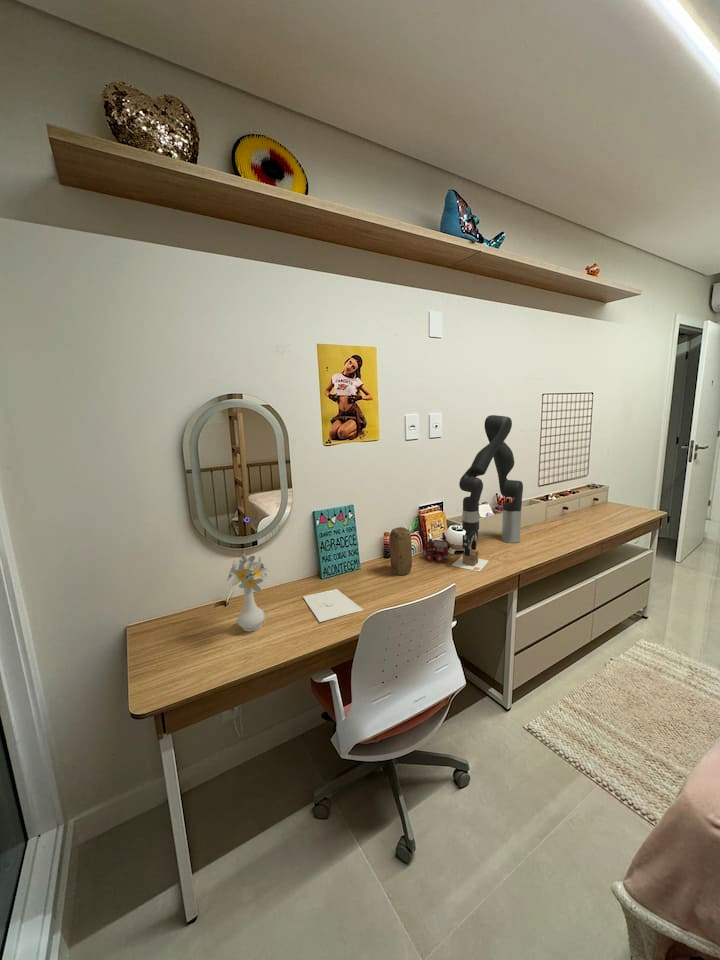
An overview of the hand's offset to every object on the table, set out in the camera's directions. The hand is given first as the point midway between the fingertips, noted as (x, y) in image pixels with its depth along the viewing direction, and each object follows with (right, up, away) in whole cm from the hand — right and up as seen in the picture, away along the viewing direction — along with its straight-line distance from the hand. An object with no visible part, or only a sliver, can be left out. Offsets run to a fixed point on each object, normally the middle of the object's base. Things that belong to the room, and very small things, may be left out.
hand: (470, 552), depth 174 cm
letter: (0, -5, +1) cm, 5 cm away
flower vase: (-89, -18, -45) cm, 101 cm away
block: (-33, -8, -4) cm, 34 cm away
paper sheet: (-58, -14, -29) cm, 66 cm away
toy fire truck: (-15, -5, +7) cm, 17 cm away
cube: (0, -5, +1) cm, 5 cm away
